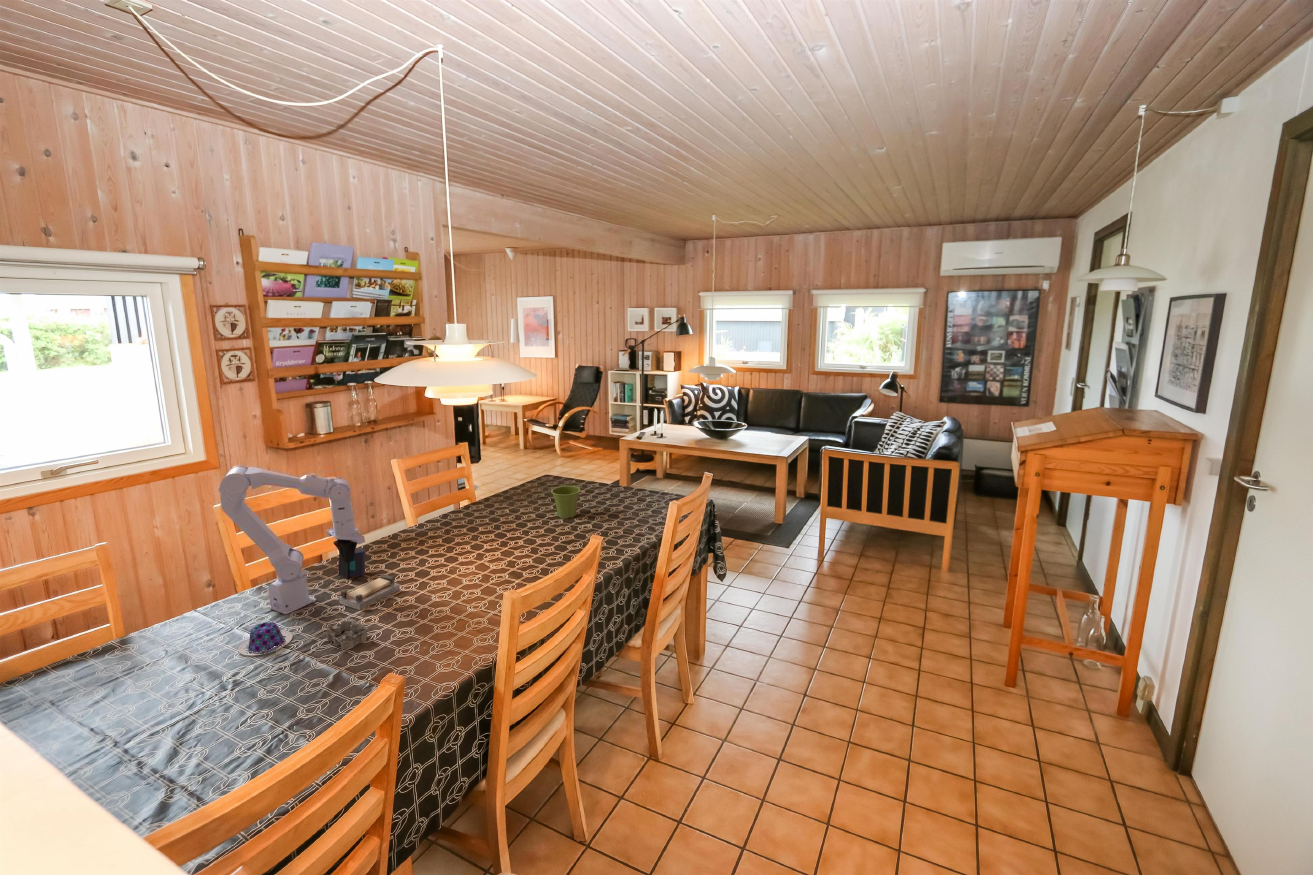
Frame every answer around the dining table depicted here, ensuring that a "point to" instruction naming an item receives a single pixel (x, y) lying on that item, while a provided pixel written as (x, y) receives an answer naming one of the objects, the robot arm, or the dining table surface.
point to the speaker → (353, 564)
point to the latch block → (372, 598)
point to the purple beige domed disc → (265, 638)
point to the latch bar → (368, 588)
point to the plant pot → (566, 500)
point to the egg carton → (347, 634)
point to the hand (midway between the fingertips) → (349, 561)
